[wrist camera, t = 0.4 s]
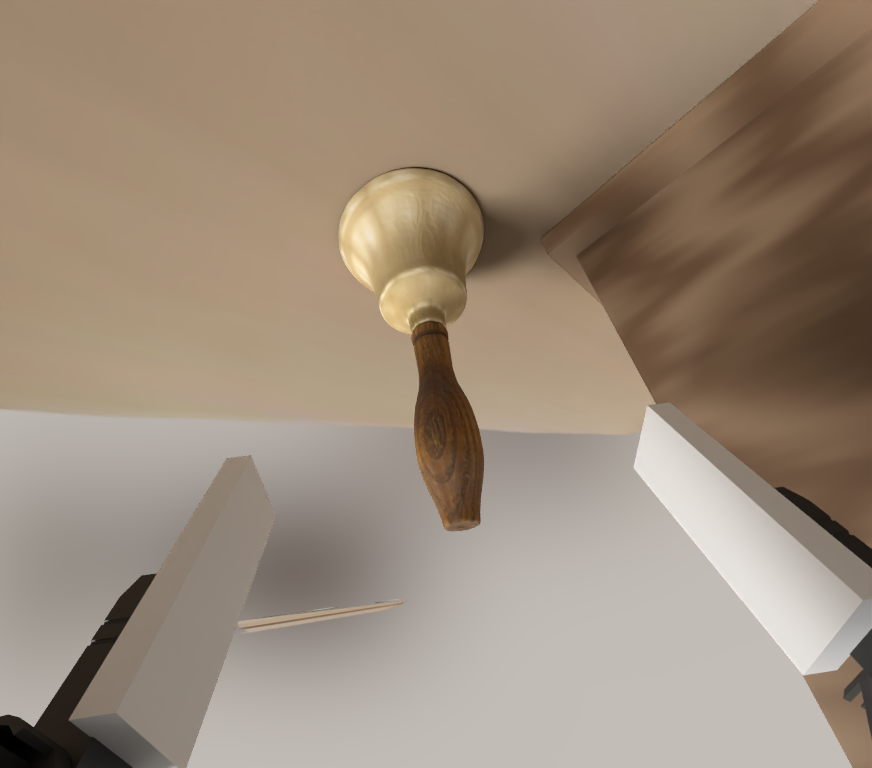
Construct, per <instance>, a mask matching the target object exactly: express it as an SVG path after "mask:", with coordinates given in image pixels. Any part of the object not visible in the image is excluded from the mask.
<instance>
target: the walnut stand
mask: <svg viewBox="0 0 872 768" xmlns="http://www.w3.org/2000/svg"><path fill="white" fill-rule="evenodd" d="M541 241H542V243H543V245H544V247H545V249H546V251H547V254H548V255H549V256H550V257H551V258H552V259H553V260H554V261H555V262H557V263H558V264H559V265H560V266H561V267H562V268H563V269H564V270H565V271H566V272H567V273H568V274H569V275H570V276H571V277H573V278H574V279H575V280H576V281H577V282H578V283H579V284H580V285H581V286H582V287H583V288H584V289H585V290H586V291H588V292H589V293H590V294H591V295H592V296H593V297H594V298H595V299H596V300H597V301H598V302H599V303H600V304H601V305H602V306H603V307H604V309H605V310H606V312H607V314H608V316H609V318H610V320H611V321H612V323H613V325H614V327H615V329H616V331H617V333H618V334H619V336H620V338H621V340H622V342H623V344H624V346H625V347H626V349H627V351H628V353H629V355H630V357H631V358H632V360H633V362H634V364H635V366H636V368H637V370H638V371H639V373H640V375H641V377H642V379H643V381H644V383H645V384H646V386H647V388H648V390H649V392H650V394H651V395H652V397H653V399H654V401H655V403H656V404H662V403H671V404H672V405H673V406H675V407H676V408H677V409H678V410H679V411H681V412H682V413H683V414H684V415H686V416H687V417H688V418H689V419H690V420H692V421H693V422H694V423H695V424H696V425H698V426H699V427H700V428H701V429H703V430H704V431H705V432H706V433H707V434H709V435H710V436H711V437H712V438H714V439H715V440H716V441H717V442H718V443H720V444H721V445H722V446H723V447H725V448H726V449H727V450H728V451H729V452H731V453H732V454H733V455H734V456H736V457H737V458H738V459H739V460H740V461H742V462H743V463H744V464H745V465H746V466H748V467H749V468H750V469H751V470H753V471H754V472H755V473H756V474H757V475H759V476H760V477H761V478H762V479H764V480H765V481H766V482H767V483H768V484H770V485H771V486H772V487H773V488H776V487H785V488H787V489H789V490H791V491H793V492H795V493H796V494H798V495H800V496H802V497H804V498H806V499H808V500H810V501H811V502H812V503H813V504H815V505H816V506H817V507H819V508H820V509H821V510H822V511H824V512H825V513H826V514H828V515H829V516H830V517H831V520H833V521H834V520H835V521H837V522H838V523H839V524H840V525H842V526H843V527H844V528H846V529H847V530H848V531H849V534H850V535H855V536H856V537H857V538H858V539H860V540H861V541H862V542H864V543H865V544H866V545H867V546H869V547H870V548H871V549H872V0H820V1H819V2H818V3H817V4H815V5H814V6H813V7H812V8H811V9H809V10H808V11H807V12H806V13H805V14H804V15H802V16H801V17H800V18H799V19H798V20H797V21H795V22H794V23H793V24H792V25H791V26H790V27H788V28H787V29H786V30H785V31H784V32H783V33H781V34H780V35H779V36H778V37H777V38H775V39H774V40H773V41H772V42H771V43H770V44H768V45H767V46H766V47H765V48H764V49H763V50H761V51H760V52H759V53H758V54H757V55H756V56H754V57H753V58H752V59H751V60H750V61H749V62H747V63H746V64H745V65H744V66H743V67H741V68H740V69H739V70H738V71H737V72H736V73H734V74H733V75H732V76H731V77H730V78H729V79H727V80H726V81H725V82H724V83H723V84H722V85H720V86H719V87H718V88H717V89H716V90H715V91H713V92H712V93H711V94H710V95H709V96H707V97H706V98H705V99H704V100H703V101H702V102H700V103H699V104H698V105H697V106H696V107H695V108H693V109H692V110H691V111H690V112H689V113H688V114H686V115H685V116H684V117H683V118H682V119H681V120H679V121H678V122H677V123H676V124H675V125H673V126H672V127H671V128H670V129H669V130H668V131H666V132H665V133H664V134H663V135H662V136H661V137H659V138H658V139H657V140H656V141H655V142H654V143H652V144H651V145H650V146H649V147H648V148H647V149H645V150H644V151H643V152H642V153H641V154H639V155H638V156H637V157H636V158H635V159H634V160H632V161H631V162H630V163H629V164H628V165H627V166H625V167H624V168H623V169H622V170H621V171H620V172H618V173H617V174H616V175H615V176H614V177H612V178H611V179H610V180H609V181H608V182H607V183H605V184H604V185H603V186H602V187H601V188H600V189H598V190H597V191H596V192H595V193H594V194H593V195H591V196H590V197H589V198H588V199H587V200H586V201H584V202H583V203H582V204H581V205H580V206H578V207H577V208H576V209H575V210H574V211H573V212H571V213H570V214H569V215H568V216H567V217H566V218H564V219H563V220H562V221H561V222H560V223H559V224H557V225H556V226H555V227H554V228H553V229H552V230H550V231H549V232H548V233H547V234H546V235H544V236H543V237H542V238H541ZM862 670H863V668H862V667H861V666H860V665H859V664H858V663H857V661H856V660H855V659H854V658H853V657H852V656H851V655H850V656H849V657H848V658H847V659H846V661H845V662H844V663H843V664H842V665H841V666H840V667H839V669H838V670H835V671H829V672H822V673H816V674H810V675H803V674H802V675H803V677H804V678H805V680H806V682H807V684H808V686H809V687H810V689H811V691H812V693H813V695H814V697H815V699H816V701H817V702H818V704H819V706H820V708H821V710H822V711H823V713H824V715H825V717H826V719H827V721H828V723H829V725H830V726H831V728H832V730H833V732H834V734H835V736H836V737H837V739H838V741H839V743H840V745H841V746H842V749H843V750H844V752H845V754H846V756H847V758H848V760H849V762H850V763H851V765H852V767H853V768H872V738H871V733H870V729H869V724H868V719H867V715H866V710H865V709H864V708H862V707H861V705H862V704H863V702H864V700H863V696H862V691H861V692H860V693H859V694H858V695H857V696H856V697H855V698H854V699H853V700H852V701H851V702H849V701H847V700H845V699H843V697H844V689H845V688H846V687H847V686H848V685H849V684H850V683H851V682H852V681H853V679H854V678H855V677H856V676H857V675H858V674H859V673H860V672H861V671H862Z"/></svg>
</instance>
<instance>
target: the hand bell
mask: <svg viewBox="0 0 872 768" xmlns="http://www.w3.org/2000/svg"><path fill="white" fill-rule="evenodd" d="M483 237H484V224H483V218H482V214H481V211H480V208H479V206H478V204H477V202H476V201H475V199H474V197H473V196H472V195H471V193H470V192H469V191H468V190H467V189H466V188H465V187H464V186H463V185H462V184H461V183H459V182H458V181H456V180H455V179H453V178H451V177H450V176H448V175H446V174H443V173H441V172H438V171H434V170H430V169H421V168H406V169H398V170H394V171H390V172H387V173H384V174H382V175H380V176H378V177H376V178H374V179H373V180H371V181H369V182H368V183H367V184H365V185H364V186H363V187H362V188H361V189H360V190H359V191H358V192H357V193H355V194H354V196H353V197H352V198H351V200H350V201H349V202H348V204H347V206H346V208H345V210H344V212H343V214H342V217H341V220H340V224H339V231H338V240H339V248H340V252H341V255H342V258H343V260H344V262H345V264H346V266H347V268H348V269H349V271H350V272H351V273H352V274H353V276H354V277H355V278H356V279H357V280H358V281H359V282H360V283H361V284H363V285H364V286H365V287H367V288H368V289H370V290H371V291H373V292H375V293H376V296H377V300H378V303H379V309H380V312H381V314H382V316H383V317H384V319H385V320H386V322H387V323H388V324H389V325H390V326H392V327H393V328H395V329H396V330H398V331H401V332H403V333H407V334H412V337H411V338H412V343H413V345H414V351H415V356H416V361H417V366H418V372H419V392H418V397H417V401H416V407H415V417H414V435H415V446H416V453H417V459H418V464H419V468H420V471H421V474H422V477H423V479H424V481H425V483H426V486H427V489H428V491H429V493H430V495H431V496H432V499H433V501H434V503H435V505H436V507H437V509H438V512H439V514H440V517H441V519H442V523H443V526H444V528H445V529H446V530H447V531H462V530H468V529H471V528H474V527H476V526H478V525H479V524H480V503H481V492H482V484H483V473H484V472H483V471H484V455H483V447H482V442H481V437H480V432H479V428H478V425H477V421H476V419H475V416H474V413H473V410H472V407H471V405H470V403H469V401H468V399H467V397H466V396H465V394H464V392H463V391H462V389H461V387H460V386H459V384H458V382H457V380H456V377H455V374H454V371H453V367H452V361H451V354H450V347H449V342H448V332H447V330H446V328H447V327H449V326H450V325H452V324H453V323H454V322H455V321H456V320H457V319H458V318H459V317H460V315H461V314H462V312H463V310H464V308H465V305H466V302H467V290H466V281H465V276H466V275H467V274H468V272H469V271H470V270H471V268H472V267H473V265H474V264H475V262H476V260H477V258H478V255H479V253H480V250H481V247H482V243H483Z"/></svg>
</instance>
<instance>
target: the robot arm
mask: <svg viewBox="0 0 872 768" xmlns="http://www.w3.org/2000/svg"><path fill="white" fill-rule="evenodd" d="M634 469H635V470H636V471H637V473H638V474H639V475H640V476H641V478H642V479H643V480H644V481H645V483H646V484H647V485H648V486H649V487H650V489H651V490H652V491H653V492H654V494H656V496H657V497H658V498H659V500H660V501H661V502H662V503H663V504H664V506H665V507H666V508H667V509H668V511H669V512H670V513H671V514H672V515H673V517H674V518H675V519H676V520H677V522H678V523H679V524H680V525H681V527H682V528H683V529H684V530H685V531H686V533H687V534H688V535H689V536H690V537H691V539H692V540H693V541H694V542H695V544H696V545H697V546H698V547H699V549H700V550H701V551H702V552H703V553H704V555H705V556H706V557H707V558H708V559H709V561H710V562H711V563H712V564H713V566H714V567H715V568H716V569H717V570H718V572H719V573H720V574H721V575H722V577H723V578H724V579H725V580H726V581H727V583H728V584H729V585H730V586H731V588H732V589H733V590H734V591H735V593H736V594H737V595H738V596H739V597H740V599H741V600H742V601H743V602H744V603H745V604H746V606H747V607H748V608H749V610H750V611H751V612H752V613H753V614H754V616H755V617H756V618H757V619H758V621H759V622H760V623H761V624H762V625H763V627H764V628H765V629H766V630H767V631H768V633H769V634H770V635H771V636H772V638H773V639H774V640H775V641H776V643H777V644H778V645H779V646H780V647H781V649H782V650H783V651H784V652H785V654H786V655H787V656H788V657H789V658H790V660H791V661H792V662H793V663H794V665H795V666H796V667H797V668H798V669H799V671H800V672H801V673H802V674H803V675H810V674H816V673H822V672H829V671H835V670H838V669H839V667H840V666H841V665H842V664H843V663H844V662H845V661H846V659H847V658H848V657H849V656H850V655H851V656H852V657H853V658H854V659H855V660H856V661H857V663H858V664H859V665H860V666H861V667H862V668H863V670H862V671H861V672H860V673H859V674H858V675H857V676H856V677H855V678H854V679H853V681H852V682H851V683H850V684H849V685H848V686H847V687H846V688H845V689H844V697H843V699H845V700H847V701H849V702H851V701H852V700H853V699H854V698H855V697H856V696H857V695H858V694H859V693H860V692H861V691H862V696H863V700H864V702H863V704H862V705H861V707H862V708H864V709H865V710H866V715H867V719H868V724H869V729H870V733H871V738H872V549H871V548H870V547H869V546H867V545H866V544H865V543H864V542H862V541H861V540H860V539H858V538H857V537H856V536H855V535H850V534H849V531H848V530H847V529H846V528H844V527H843V526H842V525H840V524H839V523H838V522H837V521H835V520H834V521H833V520H831V517H830V516H829V515H828V514H826V513H825V512H824V511H822V510H821V509H820V508H819V507H817V506H816V505H815V504H813V503H812V502H811V501H810V500H808V499H806V498H804V497H802V496H800V495H798V494H796V493H795V492H793V491H791V490H789V489H787V488H785V487H776V488H773V487H772V486H771V485H770V484H768V483H767V482H766V481H765V480H764V479H762V478H761V477H760V476H759V475H757V474H756V473H755V472H754V471H753V470H751V469H750V468H749V467H748V466H746V465H745V464H744V463H743V462H742V461H740V460H739V459H738V458H737V457H736V456H734V455H733V454H732V453H731V452H729V451H728V450H727V449H726V448H725V447H723V446H722V445H721V444H720V443H718V442H717V441H716V440H715V439H714V438H712V437H711V436H710V435H709V434H707V433H706V432H705V431H704V430H703V429H701V428H700V427H699V426H698V425H696V424H695V423H694V422H693V421H692V420H690V419H689V418H688V417H687V416H686V415H684V414H683V413H682V412H681V411H679V410H678V409H677V408H676V407H675V406H673V405H672V404H671V403H662V404H654V405H647V410H646V414H645V419H644V423H643V428H642V432H641V437H640V441H639V446H638V450H637V455H636V459H635V464H634ZM275 517H276V514H275V512H274V509H273V507H272V504H271V502H270V500H269V498H268V495H267V493H266V490H265V488H264V485H263V483H262V481H261V478H260V476H259V474H258V471H257V469H256V466H255V464H254V462H253V460H252V457H251V456H243V457H235V458H227V459H226V461H225V462H224V464H223V465H222V467H221V469H220V470H219V472H218V474H217V475H216V477H215V479H214V480H213V482H212V484H211V485H210V487H209V489H208V490H207V492H206V494H205V495H204V497H203V499H202V500H201V502H200V503H199V505H198V507H197V508H196V510H195V512H194V513H193V515H192V517H191V518H190V520H189V522H188V523H187V525H186V527H185V528H184V530H183V532H182V533H181V535H180V536H179V538H178V540H177V542H176V543H175V545H174V546H173V548H172V550H171V551H170V553H169V555H168V556H167V558H166V560H165V561H164V563H163V565H162V566H161V568H160V570H159V571H158V573H157V574H150V575H143V576H141V577H140V578H139V579H138V580H137V581H136V582H135V583H134V584H133V585H132V586H131V587H130V588H129V589H128V590H127V591H126V592H124V594H123V595H122V596H120V598H119V599H118V601H117V602H116V604H115V605H114V607H113V608H112V610H111V611H110V613H109V615H108V616H107V617H106V619H105V623H104V625H101V626H100V628H99V629H98V631H97V632H96V634H95V636H94V637H93V639H92V640H91V642H92V643H91V645H90V646H87V648H86V649H85V651H84V652H83V654H82V655H81V657H80V658H79V660H78V661H77V663H76V664H75V666H74V667H73V669H72V670H71V672H70V674H69V675H68V676H67V678H66V679H65V681H64V682H63V684H62V686H61V687H60V689H59V690H58V692H57V693H56V695H55V696H54V698H53V699H52V701H51V702H50V704H49V705H48V707H47V708H46V710H45V711H44V713H43V714H42V716H41V717H40V719H39V720H38V722H37V723H36V725H35V726H34V727H32V726H31V725H29V724H28V723H27V722H25V721H24V720H22V719H21V718H19V717H15V716H12V715H5V716H1V717H0V768H186V767H187V764H188V761H189V758H190V756H191V753H192V750H193V747H194V744H195V742H196V738H197V736H198V733H199V730H200V727H201V725H202V722H203V719H204V716H205V713H206V711H207V708H208V705H209V702H210V700H211V697H212V694H213V691H214V688H215V686H216V683H217V680H218V677H219V674H220V671H221V669H222V666H223V663H224V660H225V658H226V655H227V652H228V649H229V646H230V643H231V641H232V638H233V635H234V632H235V629H236V627H237V624H238V621H239V618H240V615H241V613H242V610H243V607H244V604H245V601H246V598H247V596H248V593H249V590H250V587H251V584H252V582H253V579H254V576H255V573H256V571H257V568H258V565H259V562H260V559H261V557H262V553H263V551H264V548H265V545H266V543H267V540H268V537H269V534H270V531H271V528H272V526H273V523H274V520H275Z"/></svg>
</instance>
